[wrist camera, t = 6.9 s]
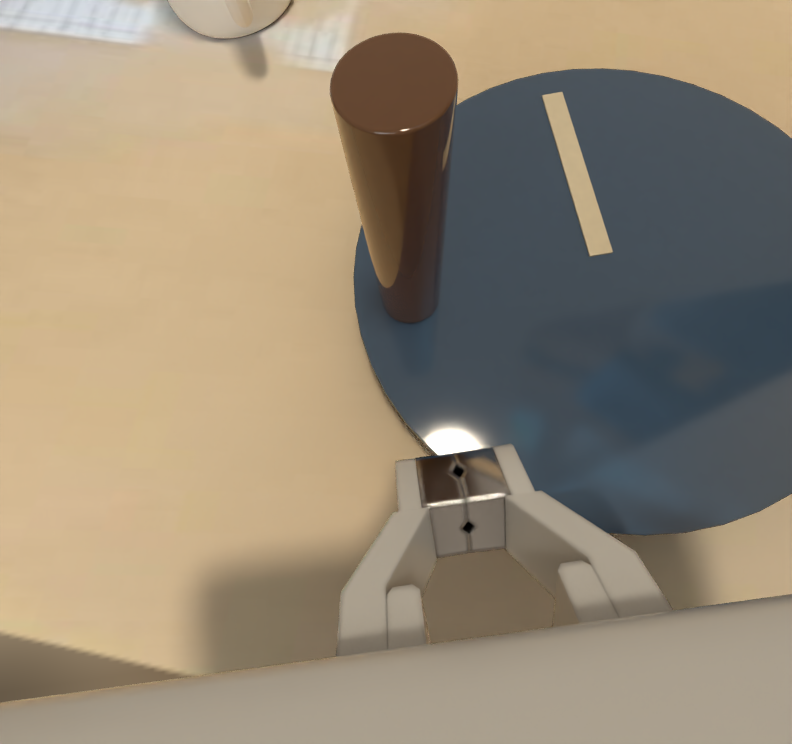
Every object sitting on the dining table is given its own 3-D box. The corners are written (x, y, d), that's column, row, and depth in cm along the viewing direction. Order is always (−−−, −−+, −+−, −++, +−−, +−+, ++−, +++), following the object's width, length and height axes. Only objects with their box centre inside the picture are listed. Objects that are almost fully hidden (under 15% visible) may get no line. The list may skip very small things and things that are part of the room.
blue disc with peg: (962, 489, 15) (2221, 523, 5) (389, 568, 16) (319, 757, 5) (750, 53, 21) (1090, -388, 10) (334, 126, 22) (246, -215, 11)
